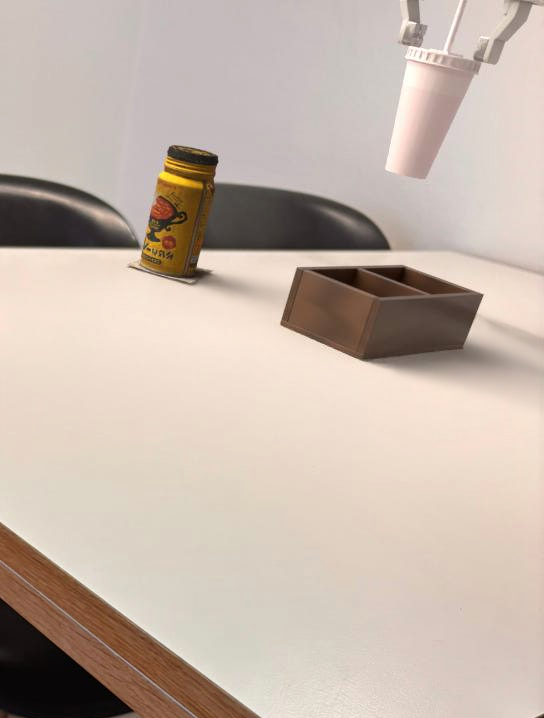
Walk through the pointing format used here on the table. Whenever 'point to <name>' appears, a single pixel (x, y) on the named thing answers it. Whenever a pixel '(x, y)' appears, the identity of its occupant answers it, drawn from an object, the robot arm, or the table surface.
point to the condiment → (179, 215)
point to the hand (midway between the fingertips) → (444, 54)
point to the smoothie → (428, 104)
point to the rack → (379, 310)
